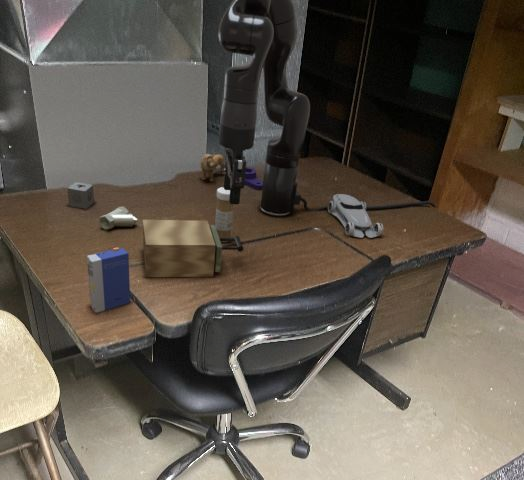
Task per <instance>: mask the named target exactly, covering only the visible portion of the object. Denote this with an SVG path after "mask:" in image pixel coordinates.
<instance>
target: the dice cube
mask: <svg viewBox="0 0 524 480" xmlns="http://www.w3.org/2000/svg"><path fill="white" fill-rule="evenodd" d="M66 191H67V198H68V206H69V207H73V208H79V209H83V210H87V209H89V208H90V207H91V206H92V205H93V204H94V203H95V194H94V184H89V183H84V182H79V181H75V182H73V183H72V184H71V185H69V186H68V187H67V190H66Z"/></svg>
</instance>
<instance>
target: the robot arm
mask: <svg viewBox="0 0 524 480" xmlns="http://www.w3.org/2000/svg"><path fill="white" fill-rule="evenodd" d="M297 32H298V30H297V19H296V8H295V4H294V1H293V0H232V1H231V3H230V4H229V6H228V8H227V9H226V10H225V12H224V14H223V15H222V18H221V20H220V23H219V27H218V35H217V36H218V41H219V44H220V47H221V48H222V49H223V50H224V51H225V52H227V53H231V54H238V55H245V56H248V57H249V56H251V57H252V58H251V62H249V63H248V64H245V65H237V66H236V65H235V66H230V67H228V68H227V69H226V70H225V74H224V85H223V96H222V97H223V98H222V103H221V109H220V120H219V131H218V143H219V145H220V146H222V147H224V151H223V158H224V161H223V167H224V173H225V175H223V176H224V178H223V187H224V189H225V190H230V197H229V202H230V204H234V205H237V206H238V205H239V204H240V200H241V192H242V191H241V190H242V189H245V184H244V181H245V170H246V167H247V160H246V156H244V152H245V151H246V150H248V151H249V150H251V149H252V148H253V147H254V144H255V143H254V142H255V134H256V128H257V127H256V126H257V118H258V117H257V116H258V98H259V97H258V96H259V88H260V81H261V77H262V76H261V75H262V72H263V84H264V85H263V91H264V92H263V93H264V108H265V115H266V116H267V119H268V120H269V121H270V122H272V124H276V125H278V126H280V127H282V129H281V135H280V136H276V137H272V138H270V139H269V140H268V141H267V147H266V155H265V164H264V173H263V180H262V182H263V188H262V189H261V198H260V205H259V210H260V211H261V213H263V214H265V215H267V216H271V217H278V218H279V217H280V218H283V217H287V216H293V215H294V210H295V206H300V204H301V202H302V203H303V209H305V210H306V211H308V212H309V211H313V212H314V211H325V210H328V205H325V206H319V207H315V208H311V207H308V202H307V200H306V199H305V198H304V197H302V195H301V193H299V191H298V190H297V189H298V182H297V174H298V168H299V163H300V154H301V150H302V147H303V145H304V143H305V139H306V134H307V130H308V129H307V128H308V124H309V120H310V114H311V103H310V99H309V97H308V96H307V95H305V94H304V93H301V92H299V91H297V90H296V91H295V90H292V89H290V88H289V86H288V80H287V64H288V61H289V59H290V57H291V54H292V52H293V50H294V47H295V45H296V42H297V35H298V33H297ZM236 178H239V181H237V179H236ZM423 205H429V206H431V207H432V208H437V206H436V204H435V203H434V202H433V201H429V200H425V201H413V202H404V203H396V204H387V205H371V206H370V205H369V206H366V211H369V210H385V209H392V208H393V209H394V208H395V209H396V208H403V207H410V206H423Z"/></svg>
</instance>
